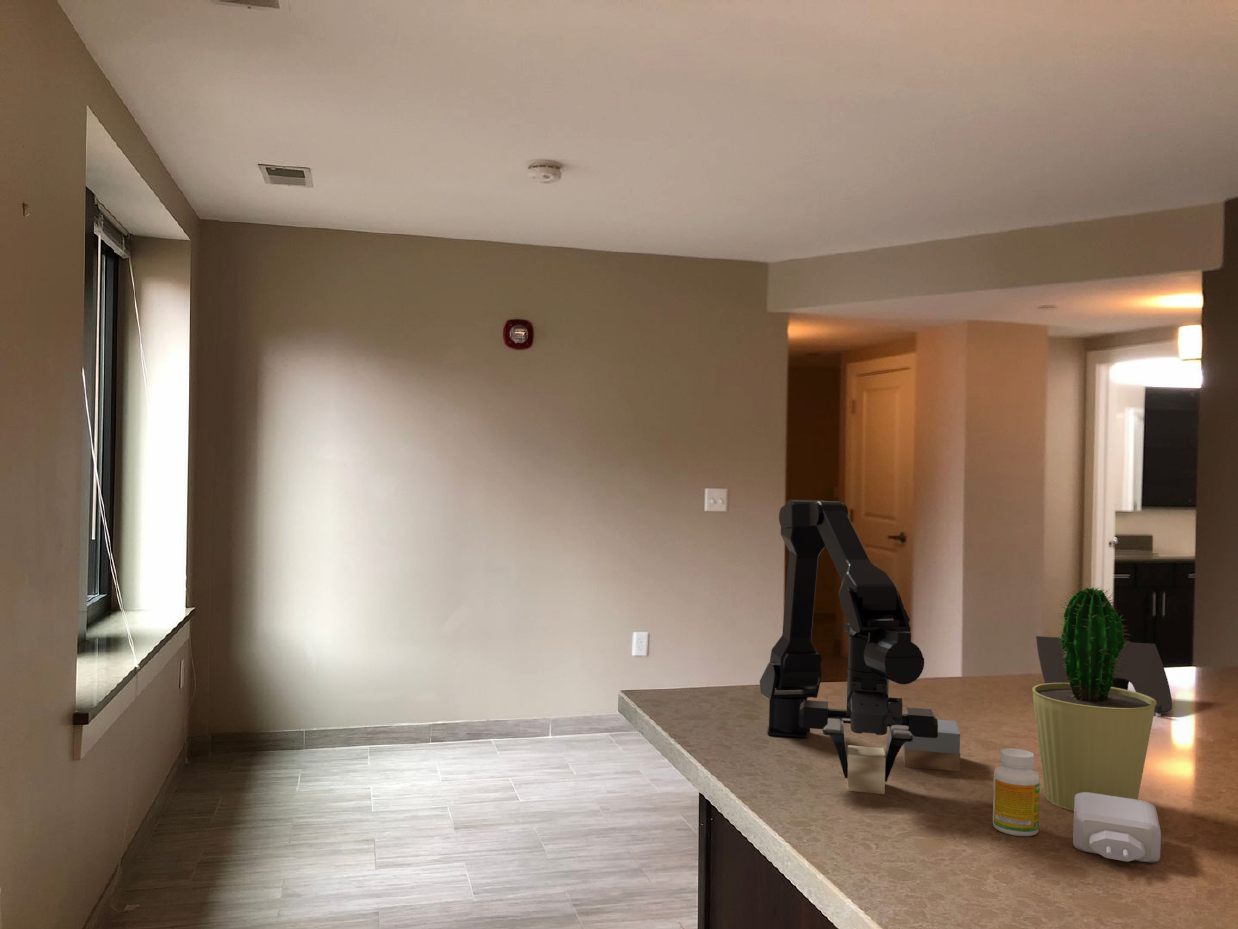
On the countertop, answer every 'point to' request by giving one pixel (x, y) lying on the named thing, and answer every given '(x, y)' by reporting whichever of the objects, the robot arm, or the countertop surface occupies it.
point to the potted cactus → (1091, 710)
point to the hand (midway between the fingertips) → (865, 779)
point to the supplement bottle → (1016, 794)
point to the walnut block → (931, 760)
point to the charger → (1116, 827)
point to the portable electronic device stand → (1137, 669)
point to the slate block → (938, 740)
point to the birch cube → (866, 769)
